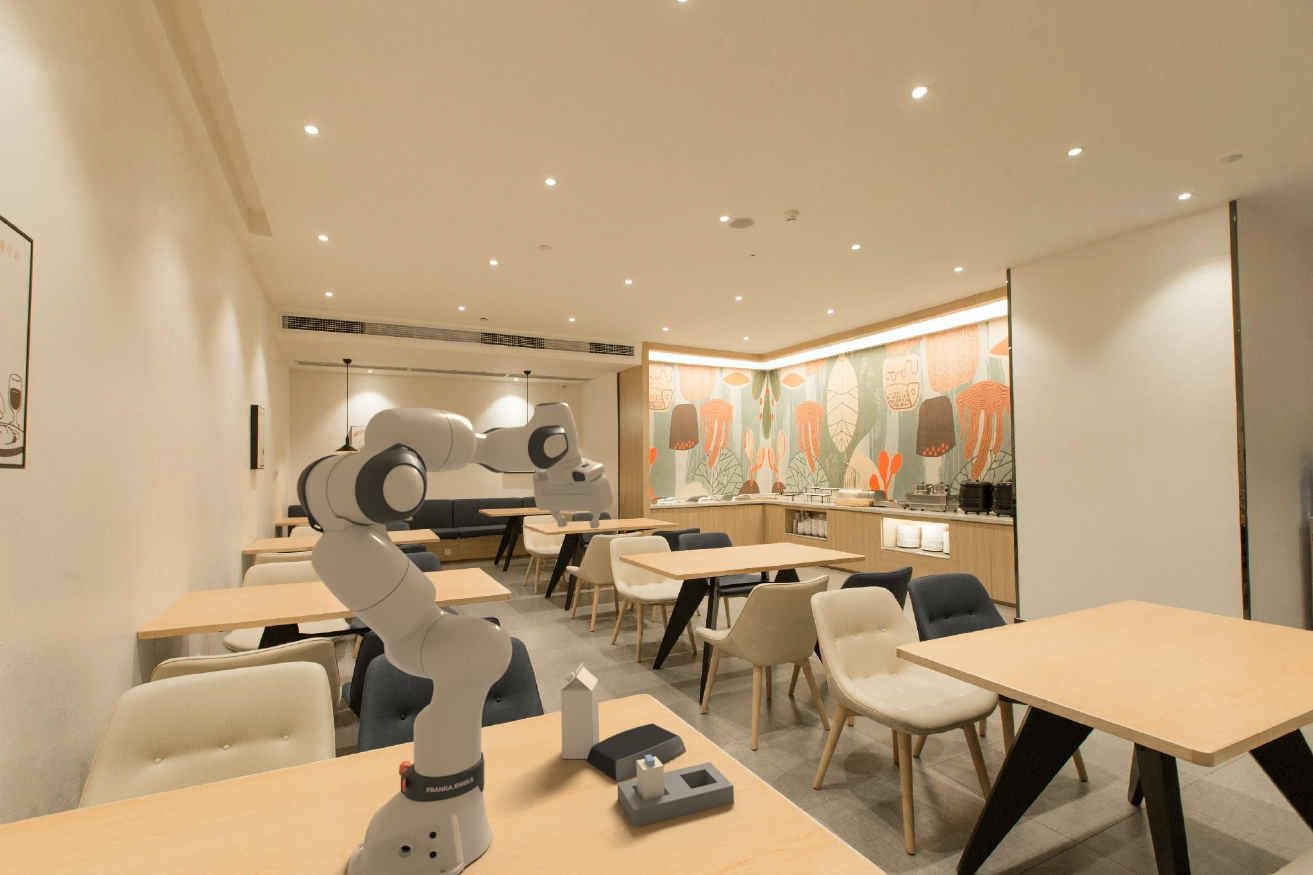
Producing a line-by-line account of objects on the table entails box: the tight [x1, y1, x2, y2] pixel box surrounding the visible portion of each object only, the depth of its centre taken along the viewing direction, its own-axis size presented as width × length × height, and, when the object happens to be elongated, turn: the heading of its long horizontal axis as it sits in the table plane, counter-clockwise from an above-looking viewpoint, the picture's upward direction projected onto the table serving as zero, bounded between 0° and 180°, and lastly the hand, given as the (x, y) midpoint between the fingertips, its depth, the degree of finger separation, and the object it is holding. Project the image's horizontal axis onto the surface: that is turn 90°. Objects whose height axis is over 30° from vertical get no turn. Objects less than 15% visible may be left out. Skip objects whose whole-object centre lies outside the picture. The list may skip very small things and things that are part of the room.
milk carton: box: [560, 661, 600, 760], centre depth 134 cm, size 7×7×19 cm
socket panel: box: [617, 761, 735, 828], centre depth 112 cm, size 20×10×3 cm, turn 111°
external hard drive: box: [586, 723, 687, 782], centre depth 131 cm, size 13×19×4 cm
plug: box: [636, 754, 665, 801], centre depth 111 cm, size 4×4×9 cm
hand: (578, 526), depth 136 cm, fingers open, 8 cm apart
